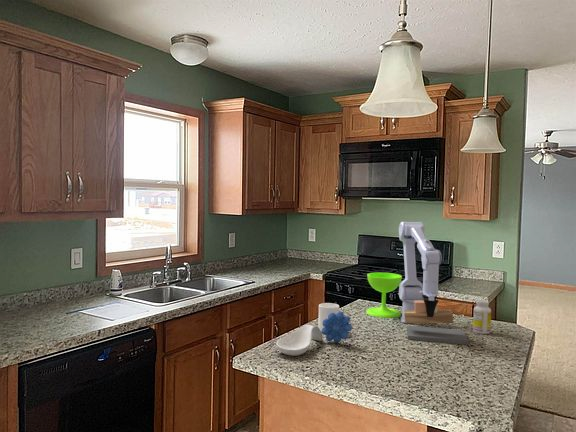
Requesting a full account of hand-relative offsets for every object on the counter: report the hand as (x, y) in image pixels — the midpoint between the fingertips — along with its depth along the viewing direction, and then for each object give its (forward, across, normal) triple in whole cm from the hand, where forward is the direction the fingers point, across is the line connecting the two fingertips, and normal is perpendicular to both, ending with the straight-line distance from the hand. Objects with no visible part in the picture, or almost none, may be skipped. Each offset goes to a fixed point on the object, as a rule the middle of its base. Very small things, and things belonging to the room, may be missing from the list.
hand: (429, 315), depth 180 cm
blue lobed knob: (+9, +18, -34) cm, 40 cm away
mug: (+9, +2, -39) cm, 40 cm away
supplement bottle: (+9, -12, +22) cm, 26 cm away
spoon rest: (+9, +28, -46) cm, 55 cm away
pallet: (+3, 0, 0) cm, 3 cm away
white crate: (-2, 0, 0) cm, 2 cm away
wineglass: (+9, -31, -19) cm, 37 cm away
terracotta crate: (-1, 0, -4) cm, 4 cm away
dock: (+8, 0, +3) cm, 9 cm away
